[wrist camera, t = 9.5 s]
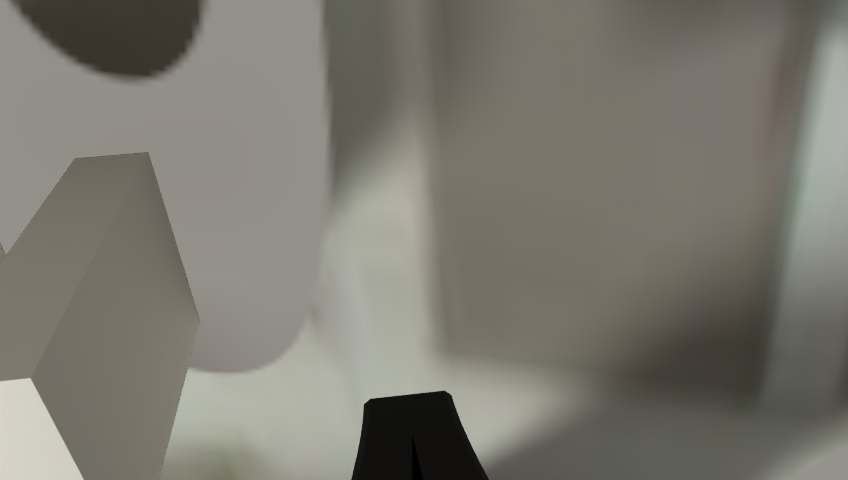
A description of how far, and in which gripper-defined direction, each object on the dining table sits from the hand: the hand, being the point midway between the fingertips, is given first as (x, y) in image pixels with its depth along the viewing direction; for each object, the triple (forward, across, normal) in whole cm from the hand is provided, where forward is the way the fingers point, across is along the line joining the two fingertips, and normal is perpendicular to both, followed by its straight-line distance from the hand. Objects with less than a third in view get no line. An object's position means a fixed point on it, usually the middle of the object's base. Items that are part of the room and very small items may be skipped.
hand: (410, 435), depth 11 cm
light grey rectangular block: (+7, +6, 0) cm, 9 cm away
